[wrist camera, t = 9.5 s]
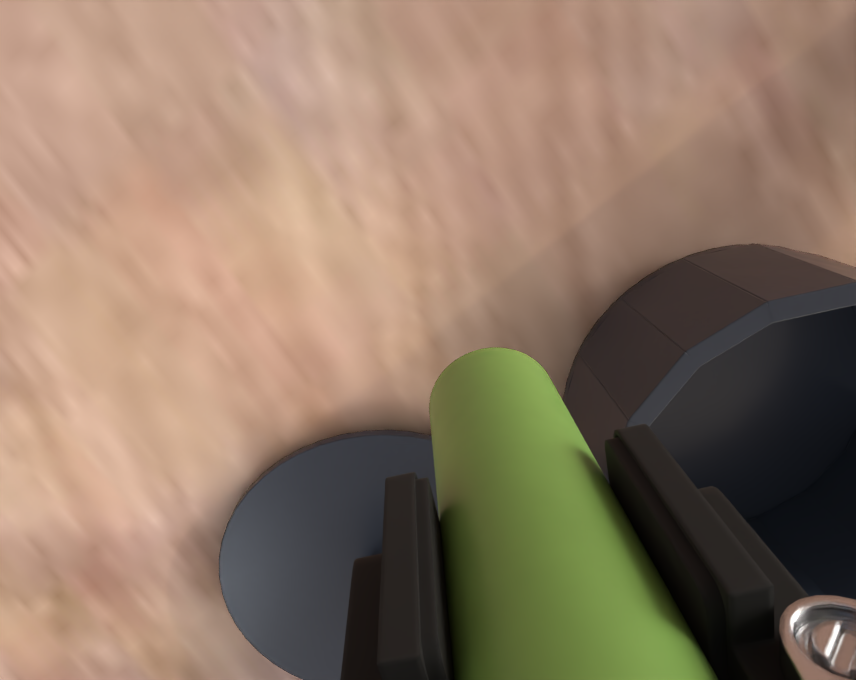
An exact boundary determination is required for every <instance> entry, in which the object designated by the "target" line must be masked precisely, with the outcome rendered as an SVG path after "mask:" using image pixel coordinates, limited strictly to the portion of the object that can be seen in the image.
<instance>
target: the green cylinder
mask: <svg viewBox="0 0 856 680" xmlns="http://www.w3.org/2000/svg"><path fill="white" fill-rule="evenodd" d="M429 413H430V424H431V435H432V446H433V457H434V468H435V479H436V490H437V501H438V512H439V521H440V529H441V540H442V551H443V562H444V572H445V583H446V594H447V605H448V616H449V627H450V638H451V648H452V659H453V670H454V680H719V679H718V678H717V676H716V674H715V672H714V670H713V669H712V667H711V665H710V663H709V662H708V660H707V658H706V656H705V654H704V653H703V651H702V649H701V647H700V645H699V644H698V642H697V640H696V638H695V637H694V635H693V633H692V631H691V629H690V628H689V626H688V624H687V622H686V620H685V619H684V617H683V615H682V613H681V611H680V610H679V608H678V606H677V604H676V603H675V601H674V599H673V597H672V595H671V594H670V592H669V590H668V588H667V586H666V585H665V583H664V581H663V579H662V577H661V576H660V574H659V572H658V570H657V569H656V567H655V565H654V563H653V561H652V560H651V558H650V556H649V554H648V552H647V551H646V549H645V547H644V545H643V544H642V542H641V540H640V538H639V536H638V535H637V533H636V531H635V529H634V527H633V526H632V524H631V522H630V520H629V518H628V517H627V515H626V513H625V511H624V510H623V508H622V506H621V504H620V502H619V501H618V499H617V497H616V495H615V493H614V492H613V490H612V488H611V486H610V484H609V483H608V481H607V479H606V477H605V476H604V474H603V472H602V470H601V468H600V467H599V465H598V463H597V461H596V459H595V458H594V456H593V454H592V452H591V451H590V449H589V447H588V445H587V443H586V442H585V440H584V438H583V436H582V434H581V433H580V431H579V429H578V427H577V425H576V424H575V422H574V420H573V418H572V417H571V415H570V413H569V411H568V409H567V408H566V406H565V404H564V402H563V400H562V399H561V397H560V395H559V393H558V392H557V390H556V388H555V386H554V384H553V383H552V381H551V379H550V377H549V376H548V374H547V372H546V371H545V370H544V368H543V367H542V366H541V365H540V364H539V363H538V362H537V361H535V360H534V359H532V358H531V357H530V356H528V355H526V354H524V353H522V352H519V351H516V350H512V349H508V348H498V347H497V348H485V349H479V350H476V351H472V352H470V353H468V354H465V355H463V356H462V357H460V358H458V359H457V360H455V361H454V362H453V363H451V364H450V365H449V366H448V367H447V368H446V369H445V370H444V371H443V372H442V374H441V375H440V376H439V378H438V379H437V381H436V383H435V385H434V387H433V389H432V393H431V396H430V403H429Z"/></svg>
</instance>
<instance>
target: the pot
mask: <svg viewBox="0 0 856 680" xmlns="http://www.w3.org/2000/svg"><path fill="white" fill-rule="evenodd" d="M563 402H564V404H565V406H566V408H567V409H568V411H569V413H570V415H571V417H572V418H573V420H574V422H575V424H576V425H577V427H578V429H579V431H580V433H581V434H582V436H583V438H584V440H585V442H586V443H587V445H588V447H589V449H590V451H591V452H592V454H593V456H594V458H595V459H596V461H597V463H598V465H599V467H600V468H601V470H602V472H603V474H604V476H605V477H606V479H607V481H608V483H609V477H608V469H607V462H606V454H605V440H608V439H613V434H614V430H616V429H621V428H626V427H631V426H635V425H640V424H647V425H648V426H649V427H650V429H651V430H652V431H653V433H654V434H655V435H656V436H657V438H658V439H659V440H660V441H661V443H662V444H663V445H664V447H665V448H666V449H667V450H668V452H669V453H670V454H671V456H672V457H673V458H674V459H675V461H676V462H677V463H678V464H679V466H680V467H681V468H682V470H683V471H684V472H685V473H686V475H687V476H688V477H689V478H690V480H691V481H692V482H693V484H694V485H695V486H696V487H697V489H700V488H705V487H710V486H713V487H716V488H718V489H719V490H720V491H721V492H722V493H723V494H724V496H725V497H726V498H727V499H728V500H729V501H730V503H731V504H732V505H733V506H734V507H735V509H736V510H737V511H738V512H739V513H740V515H741V516H742V517H743V518H744V519H745V520H746V522H747V523H748V524H749V525H750V526H751V528H752V529H753V530H754V531H755V532H756V534H757V535H758V536H759V537H760V538H761V539H762V541H763V542H764V543H765V544H766V545H767V547H768V548H769V549H770V550H771V551H772V553H773V554H774V555H775V556H776V557H777V558H778V560H779V561H780V562H781V563H782V564H783V566H784V567H785V568H786V569H787V570H788V572H789V573H790V574H791V575H792V576H793V577H794V579H795V580H796V581H797V582H798V583H799V585H800V586H801V587H802V588H803V589H804V591H805V592H806V593H807V594H808V595H809V596H810V597H811V596H815V595H834V596H840V597H845V598H850V599H854V600H856V267H853V266H850V265H847V264H844V263H841V262H838V261H835V260H832V259H829V258H826V257H823V256H820V255H816V254H811V253H805V252H800V251H795V250H791V249H787V248H783V247H779V246H769V245H761V244H749V245H732V246H726V247H720V248H713V249H710V250H706V251H703V252H699V253H696V254H692V255H689V256H687V257H685V258H682V259H680V260H677V261H675V262H673V263H670V264H668V265H666V266H664V267H663V268H661V269H659V270H657V271H655V272H654V273H652V274H650V275H648V276H647V277H645V278H644V279H643V280H641V281H640V282H638V283H637V284H636V285H634V286H633V287H632V288H630V289H629V290H628V291H626V292H625V293H624V294H623V295H622V296H621V297H620V298H619V299H618V300H617V301H616V302H614V303H613V304H612V305H611V306H610V307H609V309H608V310H607V311H606V312H605V313H604V314H603V316H602V317H601V318H600V319H599V320H598V321H597V322H596V324H595V325H594V327H593V328H592V330H591V331H590V333H589V334H588V336H587V337H586V339H585V340H584V342H583V344H582V346H581V348H580V350H579V352H578V354H577V355H576V357H575V359H574V362H573V365H572V368H571V370H570V373H569V376H568V379H567V383H566V388H565V392H564V397H563Z"/></svg>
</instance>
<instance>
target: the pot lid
mask: <svg viewBox="0 0 856 680" xmlns="http://www.w3.org/2000/svg"><path fill="white" fill-rule="evenodd" d="M411 472H415V473H416V475H417V478H418V479H421V478H426V477H428V479H429V482H430V486H431V490H432V494H433V498H434V501H435V505H436V509H437V513H438V517H439V512H438V501H437V490H436V479H435V468H434V457H433V446H432V436H431V435H426V434H421V433H415V432H409V431H396V430H372V431H360V432H354V433H347V434H342V435H338V436H334V437H331V438H327V439H324V440H320V441H318V442H315V443H313V444H311V445H308V446H306V447H303V448H301V449H299V450H297V451H295V452H294V453H292V454H290V455H288V456H287V457H285V458H283V459H281V460H280V461H279V462H277V463H276V464H275V465H273V466H272V467H271V468H269V469H268V470H267V471H265V472H264V473H263V474H262V475H261V476H260V477H259V478H258V479H257V480H256V481H255V482H254V483H253V484H252V485H251V486H250V487H249V489H248V490H247V491H246V493H245V494H244V495H243V497H242V498H241V499H240V501H239V502H238V504H237V506H236V508H235V510H234V512H233V513H232V515H231V517H230V519H229V522H228V524H227V527H226V530H225V533H224V536H223V539H222V543H221V549H220V556H219V578H220V583H221V589H222V594H223V597H224V600H225V603H226V606H227V608H228V611H229V613H230V614H231V616H232V618H233V620H234V622H235V624H236V626H237V627H238V628H239V630H240V631H241V632H242V634H243V635H244V636H245V638H246V639H247V640H248V641H249V642H250V643H251V644H252V645H253V646H254V647H255V648H256V649H257V650H258V651H259V652H260V653H261V654H262V655H263V656H265V657H266V658H267V659H268V660H270V661H271V662H272V663H274V664H275V665H277V666H278V667H280V668H282V669H283V670H285V671H286V672H288V673H290V674H292V675H294V676H296V677H298V678H301V679H303V680H340V679H341V670H342V661H343V652H344V642H345V633H346V624H347V615H348V606H349V597H350V588H351V578H352V569H353V564H354V561H355V559H357V558H362V557H367V556H372V555H377V554H381V553H382V540H383V519H384V497H385V480H386V478H387V477H392V476H396V475H401V474H406V473H411Z"/></svg>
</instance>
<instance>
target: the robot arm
mask: <svg viewBox="0 0 856 680" xmlns="http://www.w3.org/2000/svg"><path fill="white" fill-rule="evenodd" d="M605 454H606V462H607V469H608V477H609V484H610V486H611V488H612V490H613V492H614V493H615V495H616V497H617V499H618V501H619V502H620V504H621V506H622V508H623V510H624V511H625V513H626V515H627V517H628V518H629V520H630V522H631V524H632V526H633V527H634V529H635V531H636V533H637V535H638V536H639V538H640V540H641V542H642V544H643V545H644V547H645V549H646V551H647V552H648V554H649V556H650V558H651V560H652V561H653V563H654V565H655V567H656V569H657V570H658V572H659V574H660V576H661V577H662V579H663V581H664V583H665V585H666V586H667V588H668V590H669V592H670V594H671V595H672V597H673V599H674V601H675V603H676V604H677V606H678V608H679V610H680V611H681V613H682V615H683V617H684V619H685V620H686V622H687V624H688V626H689V628H690V629H691V631H692V633H693V635H694V637H695V638H696V640H697V642H698V644H699V645H700V647H701V649H702V651H703V653H704V654H705V656H706V658H707V660H708V662H709V663H710V665H711V667H712V669H713V670H714V672H715V674H716V676H717V678H718V679H719V680H856V600H854V599H850V598H845V597H840V596H834V595H815V596H811V597H810V596H809V595H808V594H807V593H806V592H805V591H804V589H803V588H802V587H801V586H800V585H799V583H798V582H797V581H796V580H795V579H794V577H793V576H792V575H791V574H790V573H789V572H788V570H787V569H786V568H785V567H784V566H783V564H782V563H781V562H780V561H779V560H778V558H777V557H776V556H775V555H774V554H773V553H772V551H771V550H770V549H769V548H768V547H767V545H766V544H765V543H764V542H763V541H762V539H761V538H760V537H759V536H758V535H757V534H756V532H755V531H754V530H753V529H752V528H751V526H750V525H749V524H748V523H747V522H746V520H745V519H744V518H743V517H742V516H741V515H740V513H739V512H738V511H737V510H736V509H735V507H734V506H733V505H732V504H731V503H730V501H729V500H728V499H727V498H726V497H725V496H724V494H723V493H722V492H721V491H720V490H719V489H718V488H716V487H713V486H710V487H705V488H700V489H697V487H696V486H695V485H694V484H693V482H692V481H691V480H690V478H689V477H688V476H687V475H686V473H685V472H684V471H683V470H682V468H681V467H680V466H679V464H678V463H677V462H676V461H675V459H674V458H673V457H672V456H671V454H670V453H669V452H668V450H667V449H666V448H665V447H664V445H663V444H662V443H661V441H660V440H659V439H658V438H657V436H656V435H655V434H654V433H653V431H652V430H651V429H650V427H649V426H648V425H647V424H640V425H635V426H631V427H626V428H621V429H616V430H614V434H613V439H608V440H605ZM340 680H454V670H453V659H452V648H451V638H450V627H449V616H448V605H447V594H446V583H445V572H444V562H443V551H442V540H441V529H440V521H439V517H438V513H437V509H436V505H435V501H434V498H433V494H432V490H431V486H430V482H429V479H428V477H426V478H421V479H418V478H417V475H416V473H415V472H411V473H406V474H401V475H396V476H392V477H387V478H386V480H385V497H384V519H383V540H382V553H381V554H377V555H372V556H367V557H362V558H357V559H355V561H354V564H353V569H352V578H351V588H350V597H349V606H348V615H347V624H346V633H345V642H344V652H343V661H342V670H341V679H340Z"/></svg>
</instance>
